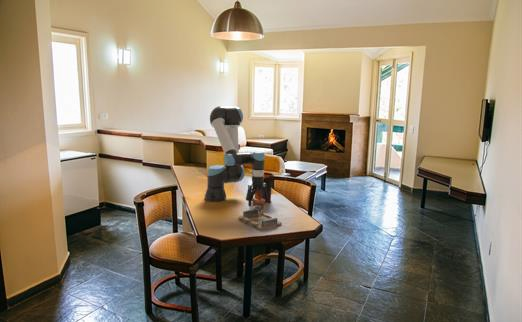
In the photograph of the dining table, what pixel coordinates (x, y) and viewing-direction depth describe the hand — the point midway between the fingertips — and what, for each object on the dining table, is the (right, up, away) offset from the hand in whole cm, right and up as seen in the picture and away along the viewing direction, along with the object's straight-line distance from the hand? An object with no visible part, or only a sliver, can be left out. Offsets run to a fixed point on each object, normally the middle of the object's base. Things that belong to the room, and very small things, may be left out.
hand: (256, 209), depth 234 cm
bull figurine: (0, 0, 0) cm, 1 cm away
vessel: (+4, +3, +19) cm, 20 cm away
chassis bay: (+2, -4, -22) cm, 22 cm away
